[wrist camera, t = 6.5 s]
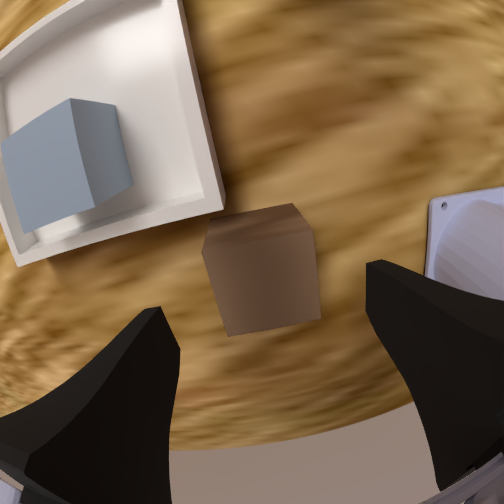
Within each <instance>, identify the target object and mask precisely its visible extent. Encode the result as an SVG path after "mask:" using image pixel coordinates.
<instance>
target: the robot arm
mask: <svg viewBox="0 0 504 504" xmlns="http://www.w3.org/2000/svg"><path fill="white" fill-rule="evenodd" d="M442 203H443V207H442V208H441V206H442ZM365 311H366V313H367V315H368V317H369V320H370V322H371V324H372V326H373V328H374V330H375V332H376V334H377V336H378V337H379V339H380V341H381V342H382V344H383V345H384V347H385V349H386V350H387V352H388V354H389V355H390V357H391V358H392V360H393V362H394V363H395V365H396V366H397V368H398V370H399V371H400V373H401V375H402V376H403V378H404V380H405V382H406V384H407V386H408V388H409V390H410V393H411V395H412V397H413V400H414V402H415V405H416V407H417V410H418V413H419V415H420V418H421V421H422V424H423V427H424V430H425V433H426V437H427V440H428V443H429V447H430V451H431V456H432V460H433V465H434V470H435V476H436V483H437V485H438V488H439V490H440V491H443V490H444V491H443V492H441V493H439V494H437V495H435V496H433V497H431V498H430V499H428V500H426V501H424V502H422V503H419V504H460V503H462V502H464V501H465V500H466V501H465V502H464V504H504V186H503V187H496V188H490V189H484V190H478V191H471V192H465V193H459V194H453V195H447V196H442V197H436V198H433V199H432V200H431V201H430V203H429V223H428V244H427V257H426V268H425V276H423V275H421V274H418V273H416V272H414V271H411V270H409V269H406V268H404V267H402V266H399V265H397V264H394V263H391V262H389V261H386V260H382V259H381V260H377V261H373V262H369V263H366V310H365ZM179 369H180V347H179V345H178V343H177V341H176V339H175V337H174V335H173V333H172V331H171V328H170V326H169V324H168V322H167V320H166V318H165V315H164V313H163V311H162V309H161V306H159V307H153V308H147V309H144V310H143V311H142V312H141V313H140V314H138V315H137V316H136V317H135V318H134V319H133V320H132V321H131V322H130V323H129V324H128V325H127V326H126V327H125V328H124V329H123V330H122V331H121V332H120V333H119V334H118V335H117V336H116V337H115V338H114V339H113V340H112V341H111V342H110V343H109V344H108V345H107V346H106V347H105V348H104V349H103V350H102V351H101V352H99V353H98V354H97V355H96V356H95V357H94V358H93V359H92V360H91V361H90V362H89V363H88V364H87V365H86V366H84V367H83V368H82V369H81V370H80V371H78V372H77V373H76V374H75V375H73V376H72V377H71V378H70V379H68V380H67V381H66V382H64V383H63V384H61V385H60V386H58V387H57V388H56V389H54V390H53V391H51V392H50V393H48V394H47V395H45V396H44V397H42V398H40V399H39V400H37V401H35V402H33V403H31V404H30V405H28V406H26V407H24V408H22V409H20V410H18V411H15V412H13V413H11V414H8V415H6V416H3V417H1V418H0V469H1V470H2V471H4V472H5V473H6V474H8V475H9V476H10V477H12V478H13V479H14V480H16V481H17V482H19V483H20V484H22V485H23V486H24V488H23V491H21V490H19V489H17V488H16V487H14V486H13V485H11V484H9V483H8V482H6V481H4V480H3V479H1V478H0V504H172V500H171V491H170V480H169V433H170V424H171V418H172V412H173V406H174V400H175V395H176V389H177V383H178V378H179ZM475 470H476V471H475ZM474 471H475V472H474ZM472 472H473V473H472ZM471 473H472V474H471ZM469 474H470V475H469ZM468 475H469V476H468ZM466 476H467V477H466ZM465 477H466V478H465ZM463 478H464V479H463ZM461 479H463V480H461ZM460 480H461V481H460ZM458 481H460V482H458ZM456 482H458V483H456ZM455 483H456V484H455ZM453 484H455V485H453ZM452 485H453V486H452ZM450 486H451V487H450ZM448 487H450V488H448ZM447 488H448V489H447ZM445 489H446V490H445Z"/></svg>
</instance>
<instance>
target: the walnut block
mask: <svg viewBox="0 0 504 504" xmlns="http://www.w3.org/2000/svg"><path fill="white" fill-rule="evenodd" d="M202 255H203V259H204V262H205V265H206V269H207V272H208V275H209V279H210V282H211V285H212V289H213V292H214V295H215V298H216V301H217V304H218V308H219V311H220V314H221V317H222V320H223V323H224V326H225V329H226V332H227V335H228V337H230V336H236V335H242V334H247V333H253V332H259V331H264V330H269V329H274V328H279V327H284V326H289V325H294V324H298V323H303V322H308V321H312V320H316V319H321V311H320V298H319V286H318V275H317V264H316V254H315V245H314V236H313V230H312V228H311V227H310V226H309V224H308V223H307V222H306V220H305V219H304V218H303V216H302V215H301V214H300V212H299V211H298V210H297V209H296V207H295V206H294V205H293V203H289V204H284V205H279V206H274V207H268V208H263V209H258V210H253V211H248V212H243V213H239V214H234V215H229V216H224V217H220V218H215V219H211V221H210V224H209V228H208V231H207V235H206V238H205V242H204V246H203V249H202Z"/></svg>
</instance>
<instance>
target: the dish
mask: <svg viewBox="0 0 504 504" xmlns="http://www.w3.org/2000/svg"><path fill="white" fill-rule="evenodd" d="M68 98H74V99H82V100H88V101H95V102H101V103H107V104H112V105H115V107H116V112H117V117H118V122H119V126H120V131H121V135H122V140H123V144H124V148H125V152H126V156H127V160H128V164H129V168H130V172H131V175H132V179H133V183H134V185H132V186H131V187H129V188H127V189H125V190H123V191H122V192H120V193H118V194H116V195H114V196H113V197H111V198H109V199H108V200H106V201H104V202H103V203H101V204H99V205H98V206H96V207H94V208H91V209H88V210H85V211H82V212H79V213H77V214H74V215H71V216H69V217H66V218H63V219H61V220H58V221H55V222H53V223H50V224H48V225H45V226H43V227H40V228H38V229H36V230H33V231H31V232H29V233H26V234H24V232H23V229H22V227H21V224H20V221H19V218H18V215H17V211H16V208H15V205H14V202H13V198H12V194H11V191H10V187H9V183H8V179H7V175H6V170H5V166H4V161H3V156H2V150H1V145H0V222H1V225H2V228H3V231H4V234H5V236H6V239H7V242H8V244H9V247H10V250H11V252H12V254H13V257H14V259H15V262H16V264H17V266H18V267H20V266H23V265H26V264H29V263H32V262H35V261H38V260H41V259H44V258H47V257H50V256H53V255H56V254H59V253H62V252H66V251H69V250H72V249H75V248H79V247H82V246H85V245H89V244H92V243H95V242H99V241H102V240H106V239H109V238H113V237H116V236H120V235H124V234H127V233H131V232H135V231H138V230H142V229H146V228H150V227H153V226H157V225H161V224H165V223H169V222H173V221H177V220H181V219H185V218H189V217H194V216H198V215H202V214H206V213H211V212H215V211H219V210H224V204H225V199H226V194H225V190H224V185H223V181H222V177H221V173H220V168H219V164H218V160H217V156H216V151H215V147H214V143H213V138H212V134H211V129H210V125H209V121H208V116H207V112H206V107H205V103H204V99H203V94H202V90H201V85H200V81H199V76H198V72H197V67H196V62H195V58H194V53H193V49H192V44H191V39H190V35H189V30H188V25H187V20H186V16H185V11H184V6H183V1H182V0H71V1H69V2H67V3H65V4H64V5H62V6H61V7H59V8H57V9H56V10H54V11H53V12H51V13H50V14H48V15H47V16H45V17H44V18H42V19H41V20H39V21H38V22H37V23H35V24H34V25H33V26H31V27H30V28H28V29H27V30H26V31H25V32H23V33H22V34H21V35H19V36H18V37H17V38H16V39H15V40H13V41H12V42H11V43H10V44H9V45H7V46H6V47H5V48H4V49H3V50H2V51H1V52H0V143H2V142H3V141H4V140H5V139H7V138H8V137H9V136H11V135H12V134H13V133H15V132H16V131H18V130H19V129H20V128H22V127H23V126H25V125H26V124H28V123H29V122H31V121H32V120H34V119H35V118H37V117H38V116H40V115H41V114H43V113H44V112H46V111H48V110H49V109H51V108H53V107H54V106H56V105H58V104H60V103H61V102H63V101H65V100H67V99H68Z"/></svg>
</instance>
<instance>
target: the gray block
mask: <svg viewBox="0 0 504 504" xmlns="http://www.w3.org/2000/svg"><path fill="white" fill-rule="evenodd" d="M0 145H1V150H2V156H3V161H4V166H5V170H6V175H7V179H8V183H9V187H10V191H11V194H12V198H13V202H14V205H15V208H16V211H17V215H18V218H19V221H20V224H21V227H22V229H23V232H24V234H26V233H29V232H31V231H33V230H36V229H38V228H40V227H43V226H45V225H48V224H50V223H53V222H55V221H58V220H61V219H63V218H66V217H69V216H71V215H74V214H77V213H79V212H82V211H85V210H88V209H91V208H94V207H96V206H98V205H99V204H101V203H103V202H104V201H106V200H108V199H109V198H111V197H113V196H114V195H116V194H118V193H120V192H122V191H123V190H125V189H127V188H129V187H131V186H132V185H134V183H133V179H132V175H131V172H130V168H129V164H128V160H127V156H126V152H125V148H124V144H123V140H122V135H121V131H120V126H119V122H118V117H117V112H116V107H115V105H112V104H107V103H101V102H95V101H88V100H82V99H74V98H68V99H67V100H65V101H63V102H61V103H60V104H58V105H56V106H54V107H53V108H51V109H49V110H48V111H46V112H44V113H43V114H41V115H40V116H38V117H37V118H35V119H34V120H32V121H31V122H29V123H28V124H26V125H25V126H23V127H22V128H20V129H19V130H18V131H16V132H15V133H13V134H12V135H11V136H9V137H8V138H7V139H5V140H4V141H3V142H2V143H0Z"/></svg>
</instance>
